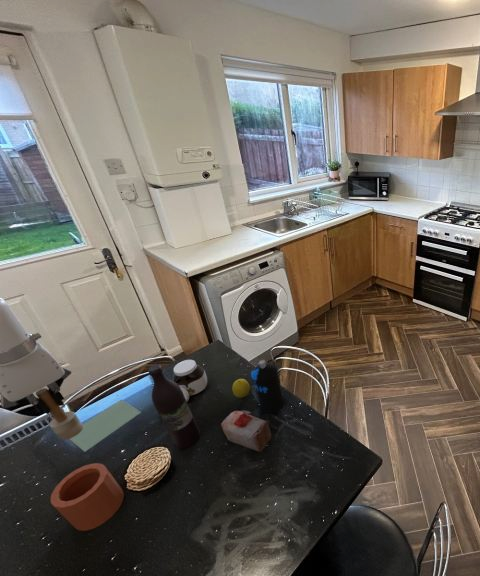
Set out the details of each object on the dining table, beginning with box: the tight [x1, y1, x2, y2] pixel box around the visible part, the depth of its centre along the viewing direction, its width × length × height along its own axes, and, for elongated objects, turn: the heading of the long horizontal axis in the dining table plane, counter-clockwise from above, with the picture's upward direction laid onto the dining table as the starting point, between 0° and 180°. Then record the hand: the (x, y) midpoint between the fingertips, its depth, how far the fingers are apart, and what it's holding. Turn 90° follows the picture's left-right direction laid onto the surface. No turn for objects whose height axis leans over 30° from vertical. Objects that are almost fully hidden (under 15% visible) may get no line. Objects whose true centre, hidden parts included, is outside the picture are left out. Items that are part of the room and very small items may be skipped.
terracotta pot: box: [50, 462, 125, 532], centre depth 78 cm, size 10×10×11 cm
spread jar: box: [171, 359, 208, 402], centre depth 110 cm, size 12×11×12 cm
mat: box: [69, 399, 142, 453], centre depth 102 cm, size 16×12×1 cm
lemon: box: [231, 378, 251, 399], centre depth 110 cm, size 6×6×8 cm
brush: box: [35, 387, 84, 441], centre depth 78 cm, size 5×5×15 cm
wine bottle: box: [148, 364, 201, 450], centre depth 90 cm, size 7×7×30 cm
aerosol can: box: [250, 359, 285, 415], centre depth 104 cm, size 8×8×20 cm
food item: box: [220, 410, 272, 453], centre depth 95 cm, size 14×8×10 cm, turn 71°
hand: (53, 406), depth 77 cm, fingers closed on brush
